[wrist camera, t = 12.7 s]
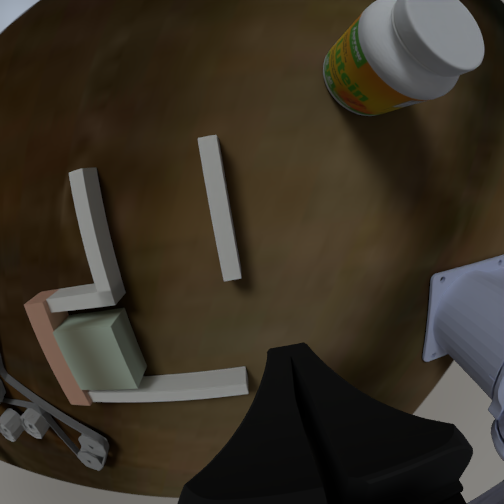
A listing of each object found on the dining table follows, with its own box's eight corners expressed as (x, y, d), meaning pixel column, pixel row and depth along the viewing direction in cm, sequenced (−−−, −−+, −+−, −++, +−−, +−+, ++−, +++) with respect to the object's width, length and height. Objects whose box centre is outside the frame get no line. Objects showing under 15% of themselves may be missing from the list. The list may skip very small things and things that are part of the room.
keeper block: (125, 306, 20) (110, 326, 17) (147, 364, 21) (137, 388, 18) (70, 313, 20) (52, 332, 17) (94, 367, 21) (80, 389, 18)
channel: (218, 138, 17) (216, 134, 15) (261, 374, 22) (262, 391, 20) (34, 188, 17) (17, 191, 15) (100, 386, 22) (92, 401, 20)
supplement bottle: (305, 55, 16) (360, -27, 7) (372, 34, 15) (451, -30, 6) (346, 129, 17) (437, 102, 8) (409, 103, 17) (512, 76, 7)
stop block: (59, 288, 19) (42, 302, 17) (100, 386, 22) (90, 405, 19) (41, 291, 19) (23, 304, 17) (82, 386, 22) (71, 404, 19)
